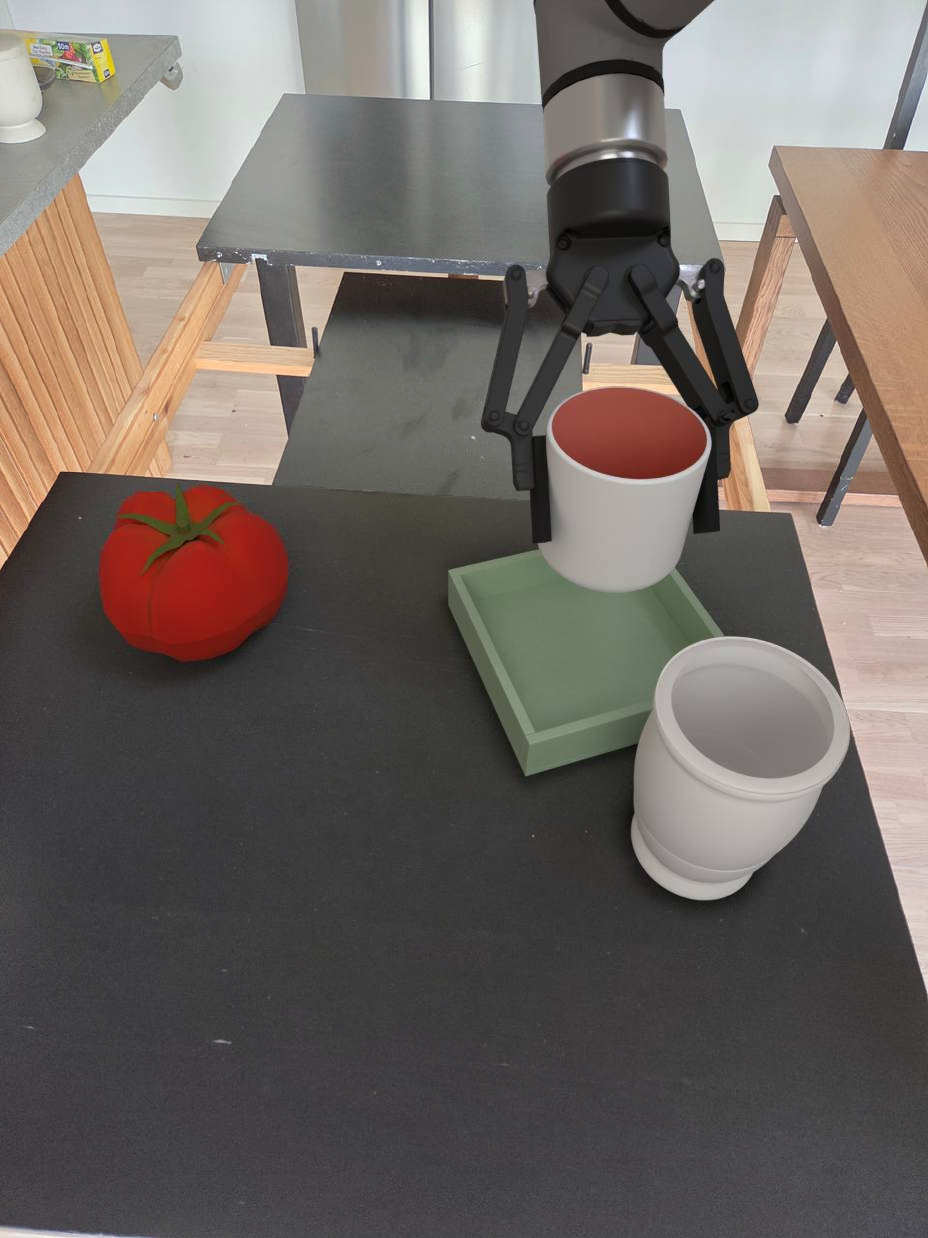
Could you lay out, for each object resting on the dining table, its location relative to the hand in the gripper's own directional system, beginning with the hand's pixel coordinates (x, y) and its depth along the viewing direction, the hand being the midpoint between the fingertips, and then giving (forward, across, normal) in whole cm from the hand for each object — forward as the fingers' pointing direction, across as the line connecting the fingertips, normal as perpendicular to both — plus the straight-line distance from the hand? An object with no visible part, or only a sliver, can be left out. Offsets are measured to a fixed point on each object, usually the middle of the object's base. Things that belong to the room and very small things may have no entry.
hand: (624, 537), depth 54 cm
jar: (+21, -4, -1) cm, 21 cm away
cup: (+1, 0, -5) cm, 5 cm away
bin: (+9, 0, -13) cm, 16 cm away
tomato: (+5, +30, -18) cm, 35 cm away
